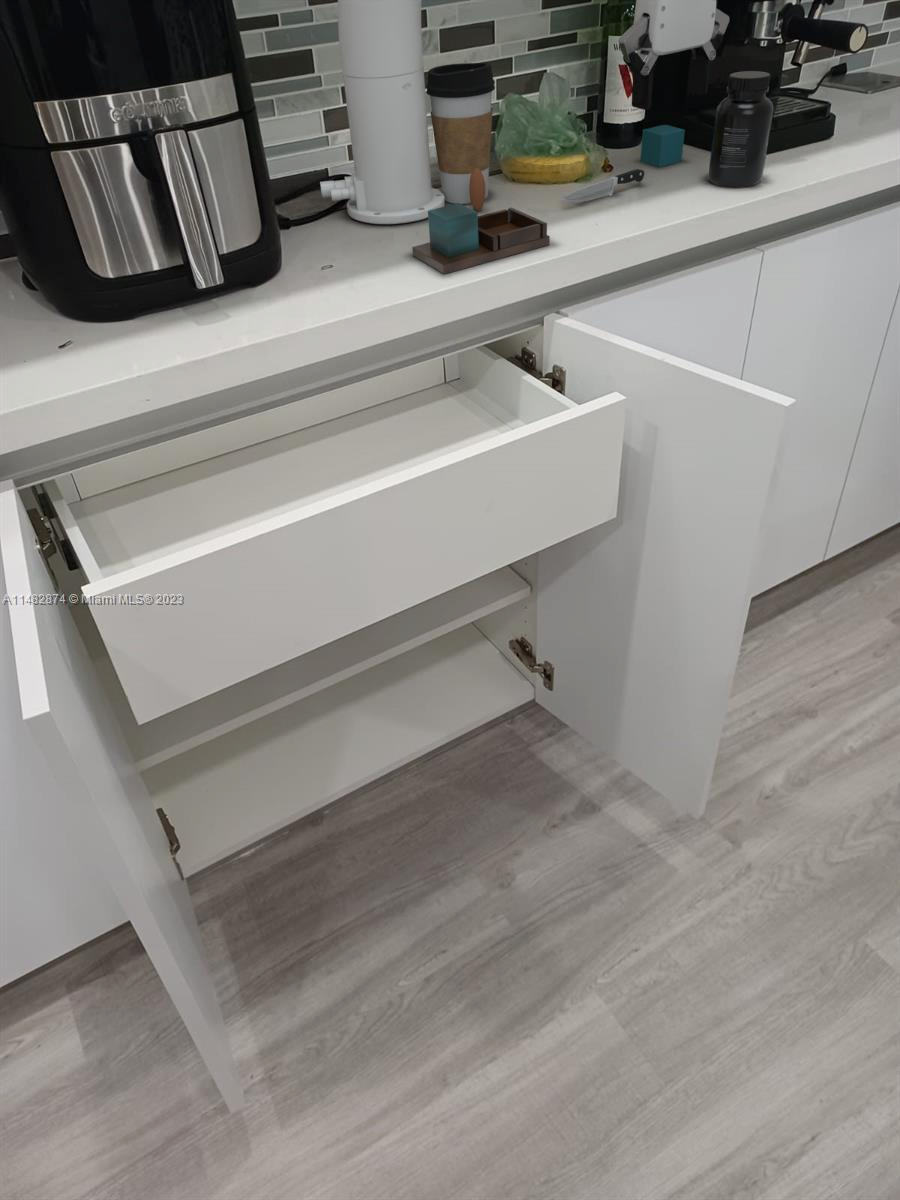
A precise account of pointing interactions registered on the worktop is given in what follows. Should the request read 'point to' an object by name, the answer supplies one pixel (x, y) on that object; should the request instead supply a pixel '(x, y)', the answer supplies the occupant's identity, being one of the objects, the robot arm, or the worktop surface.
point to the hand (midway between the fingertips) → (669, 100)
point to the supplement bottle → (741, 131)
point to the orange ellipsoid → (477, 189)
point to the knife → (602, 187)
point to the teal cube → (662, 145)
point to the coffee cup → (461, 124)
